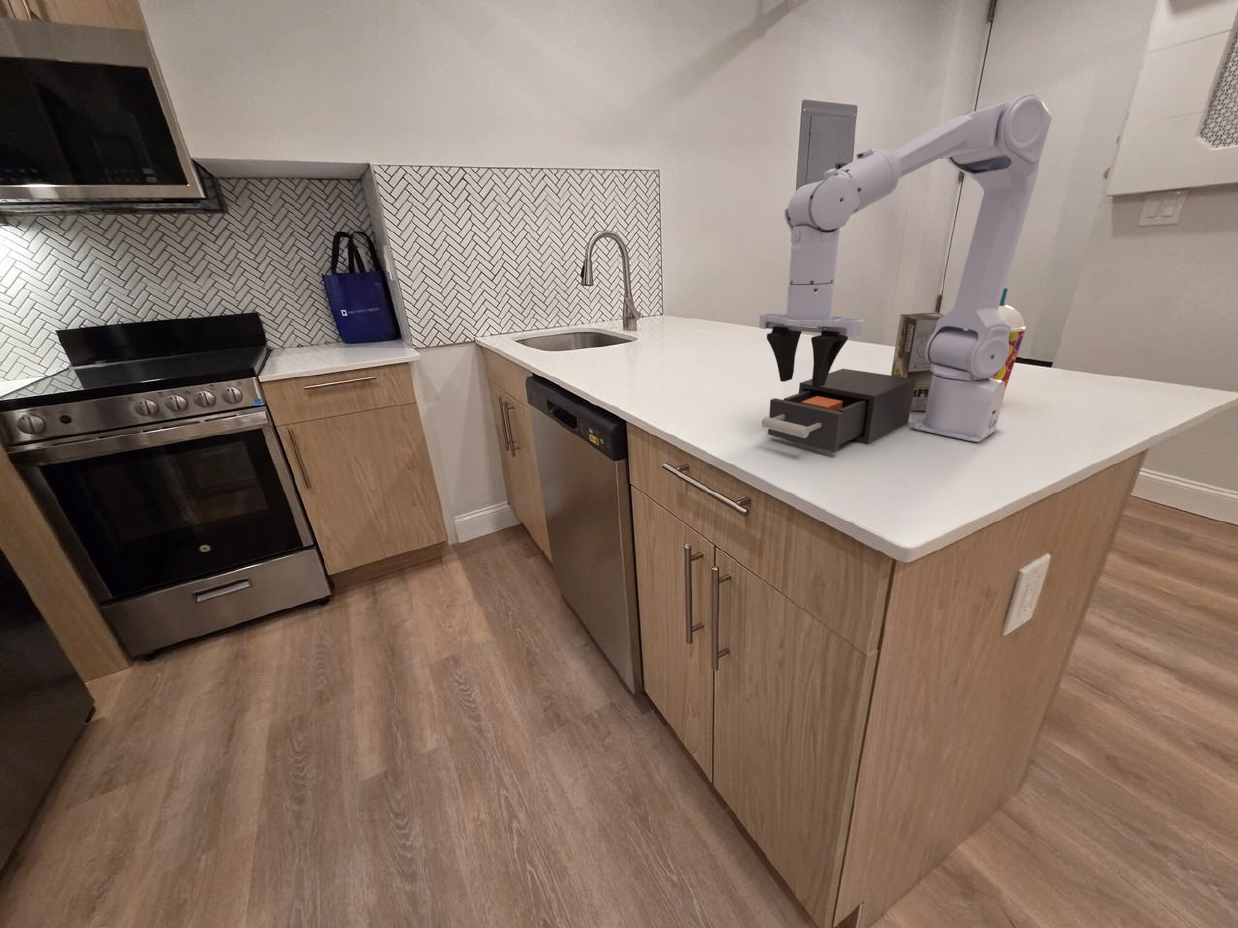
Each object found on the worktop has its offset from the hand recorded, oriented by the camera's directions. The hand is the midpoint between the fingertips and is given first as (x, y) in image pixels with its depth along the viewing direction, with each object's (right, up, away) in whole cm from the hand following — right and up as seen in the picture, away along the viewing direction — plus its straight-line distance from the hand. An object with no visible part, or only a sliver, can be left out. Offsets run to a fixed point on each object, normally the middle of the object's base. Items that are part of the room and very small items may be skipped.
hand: (801, 383), depth 72 cm
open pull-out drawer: (+4, -7, +6) cm, 11 cm away
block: (+5, -6, +7) cm, 10 cm away
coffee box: (+29, -1, +22) cm, 36 cm away
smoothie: (+41, 0, +21) cm, 46 cm away
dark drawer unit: (+13, -5, +13) cm, 19 cm away
